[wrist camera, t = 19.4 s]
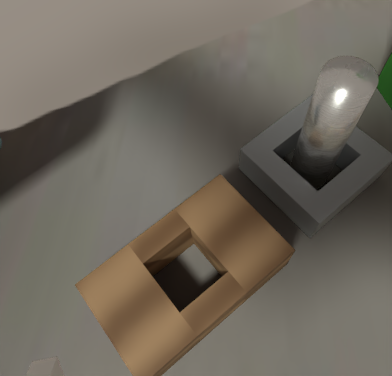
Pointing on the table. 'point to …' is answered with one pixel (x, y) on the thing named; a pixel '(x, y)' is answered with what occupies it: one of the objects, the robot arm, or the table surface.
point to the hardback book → (386, 82)
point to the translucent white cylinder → (332, 116)
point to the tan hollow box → (165, 253)
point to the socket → (296, 185)
